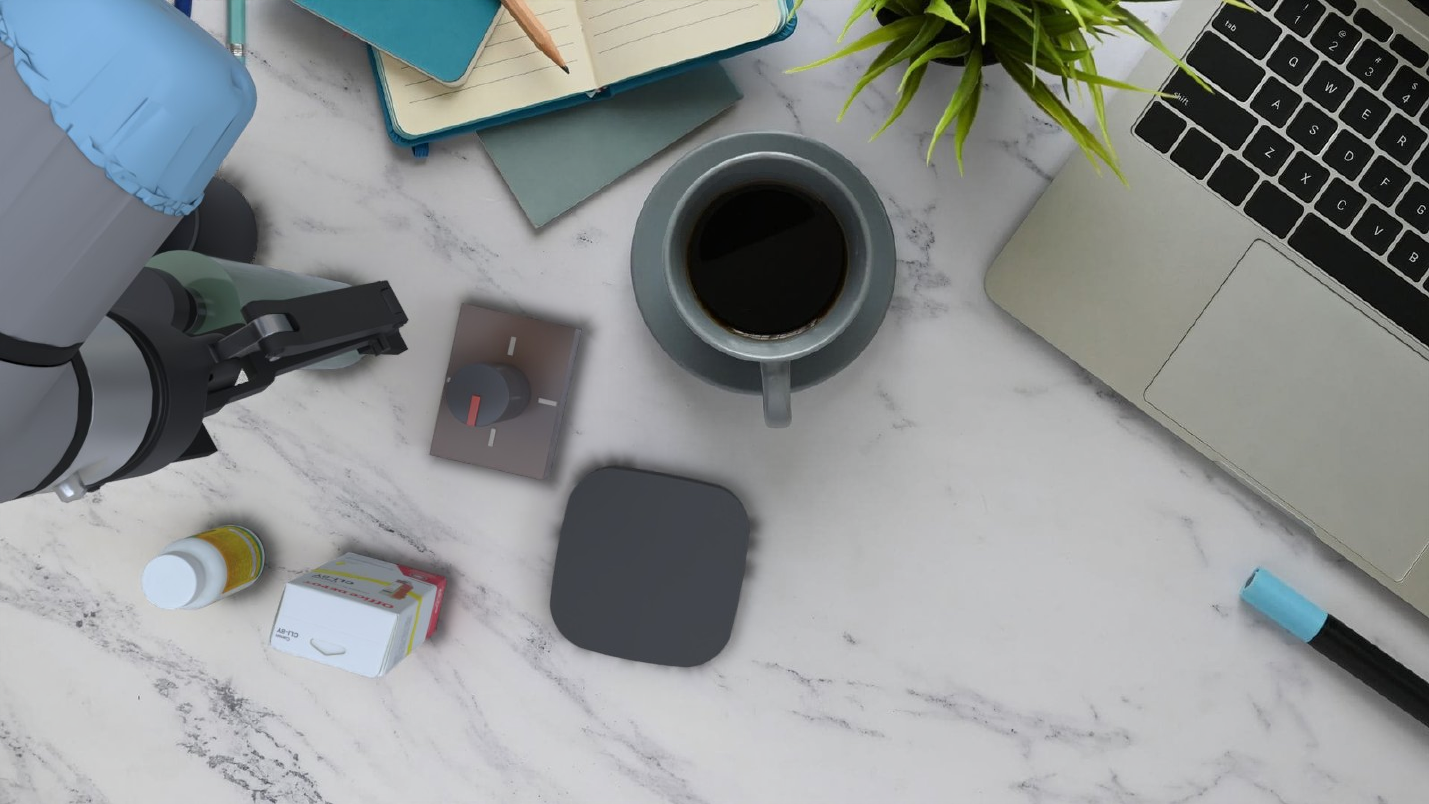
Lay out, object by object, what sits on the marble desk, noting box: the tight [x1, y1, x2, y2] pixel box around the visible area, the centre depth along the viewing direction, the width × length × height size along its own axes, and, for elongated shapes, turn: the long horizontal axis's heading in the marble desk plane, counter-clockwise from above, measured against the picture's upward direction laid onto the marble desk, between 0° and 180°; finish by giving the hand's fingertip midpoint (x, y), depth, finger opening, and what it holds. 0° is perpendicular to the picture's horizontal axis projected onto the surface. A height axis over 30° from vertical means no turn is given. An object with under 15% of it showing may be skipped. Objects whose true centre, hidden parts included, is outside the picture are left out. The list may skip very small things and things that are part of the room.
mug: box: [151, 175, 259, 264], centre depth 74 cm, size 9×12×9 cm
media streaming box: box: [549, 465, 751, 668], centre depth 78 cm, size 15×15×3 cm
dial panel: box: [429, 302, 582, 481], centre depth 77 cm, size 12×9×3 cm
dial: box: [446, 363, 530, 427], centre depth 72 cm, size 4×4×8 cm
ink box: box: [267, 551, 448, 679], centre depth 74 cm, size 9×5×12 cm, turn 74°
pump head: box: [112, 266, 190, 332], centre depth 53 cm, size 7×4×2 cm, turn 167°
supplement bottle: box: [140, 524, 266, 611], centre depth 75 cm, size 5×5×10 cm
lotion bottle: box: [145, 250, 367, 372], centre depth 67 cm, size 7×7×23 cm
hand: (297, 383), depth 61 cm, fingers open, 13 cm apart
